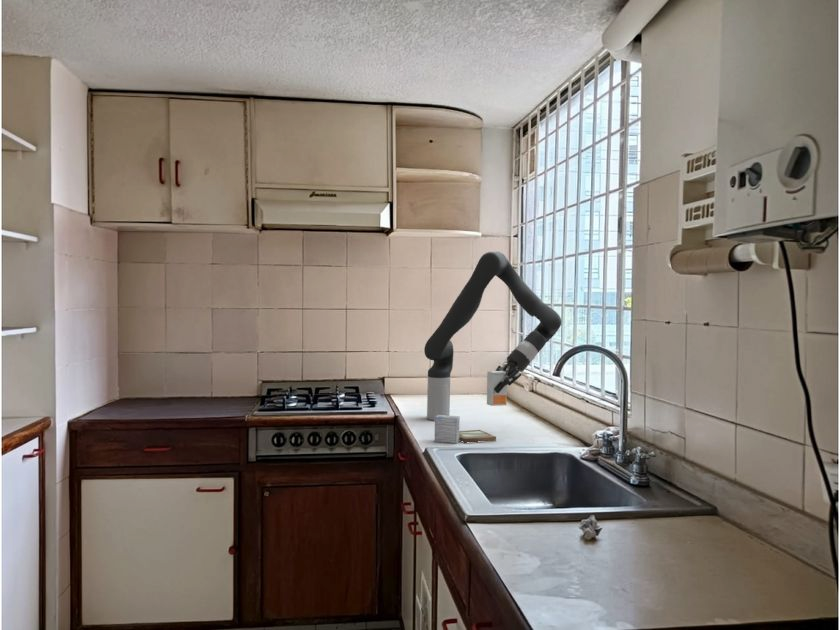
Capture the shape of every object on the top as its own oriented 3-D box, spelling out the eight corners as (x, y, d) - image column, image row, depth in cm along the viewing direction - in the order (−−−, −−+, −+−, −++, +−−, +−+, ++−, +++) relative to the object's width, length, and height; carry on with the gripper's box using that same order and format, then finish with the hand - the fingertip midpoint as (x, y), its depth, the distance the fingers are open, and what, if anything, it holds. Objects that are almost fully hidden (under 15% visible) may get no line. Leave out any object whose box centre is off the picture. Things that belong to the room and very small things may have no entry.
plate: (449, 435, 219) (450, 431, 219) (479, 433, 223) (480, 429, 223) (464, 443, 208) (464, 438, 208) (496, 441, 212) (496, 436, 212)
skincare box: (491, 406, 216) (491, 372, 216) (486, 404, 220) (486, 371, 220) (507, 405, 218) (507, 371, 218) (501, 403, 222) (501, 370, 222)
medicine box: (459, 441, 211) (460, 416, 211) (456, 444, 207) (457, 418, 207) (437, 439, 213) (437, 414, 213) (434, 442, 209) (434, 416, 209)
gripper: (506, 347, 228) (476, 380, 224) (527, 350, 215) (495, 386, 210) (518, 361, 230) (488, 394, 226) (539, 365, 217) (508, 400, 213)
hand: (492, 390), depth 218 cm, fingers closed on skincare box, 4 cm apart
